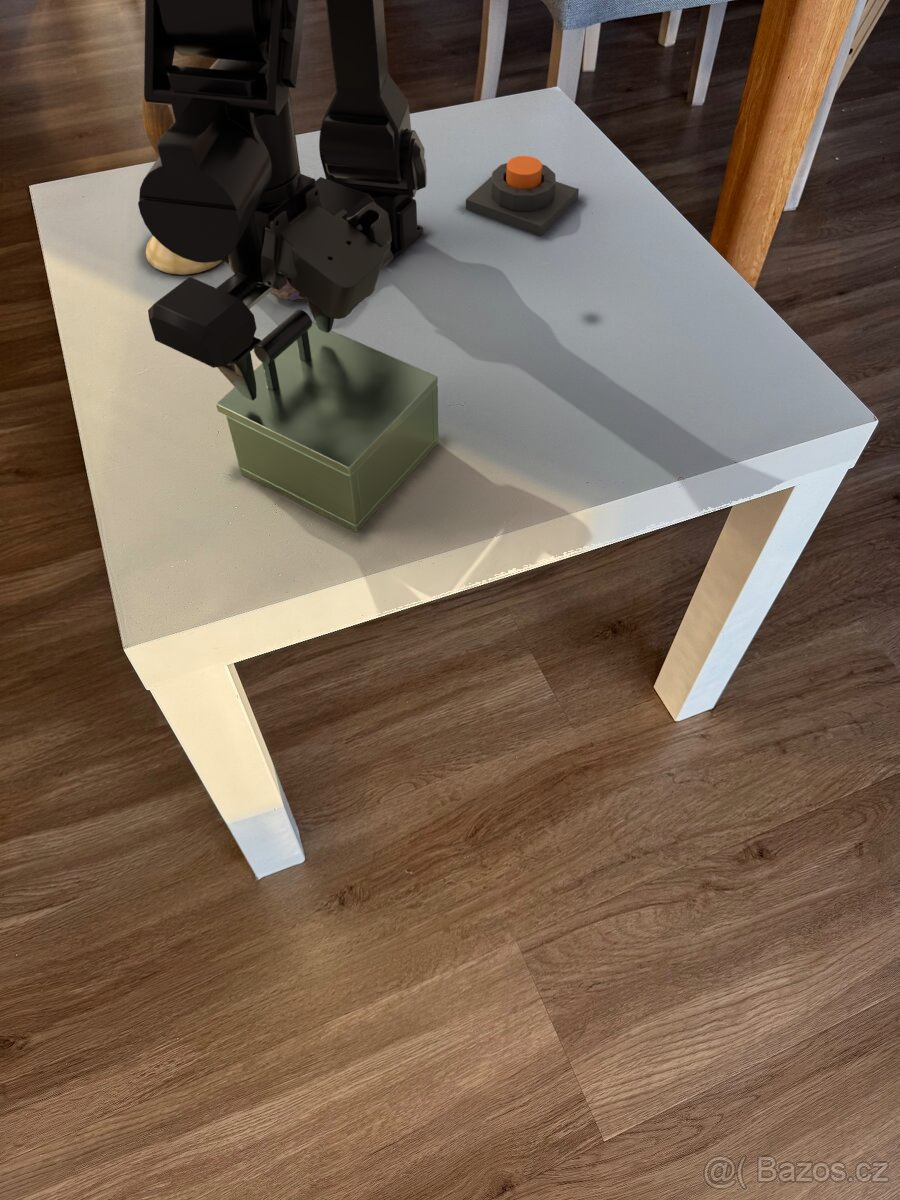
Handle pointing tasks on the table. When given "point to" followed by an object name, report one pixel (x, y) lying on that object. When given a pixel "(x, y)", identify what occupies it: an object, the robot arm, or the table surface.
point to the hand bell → (156, 254)
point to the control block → (522, 201)
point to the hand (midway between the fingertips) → (288, 362)
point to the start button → (524, 172)
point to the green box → (329, 487)
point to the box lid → (327, 393)
